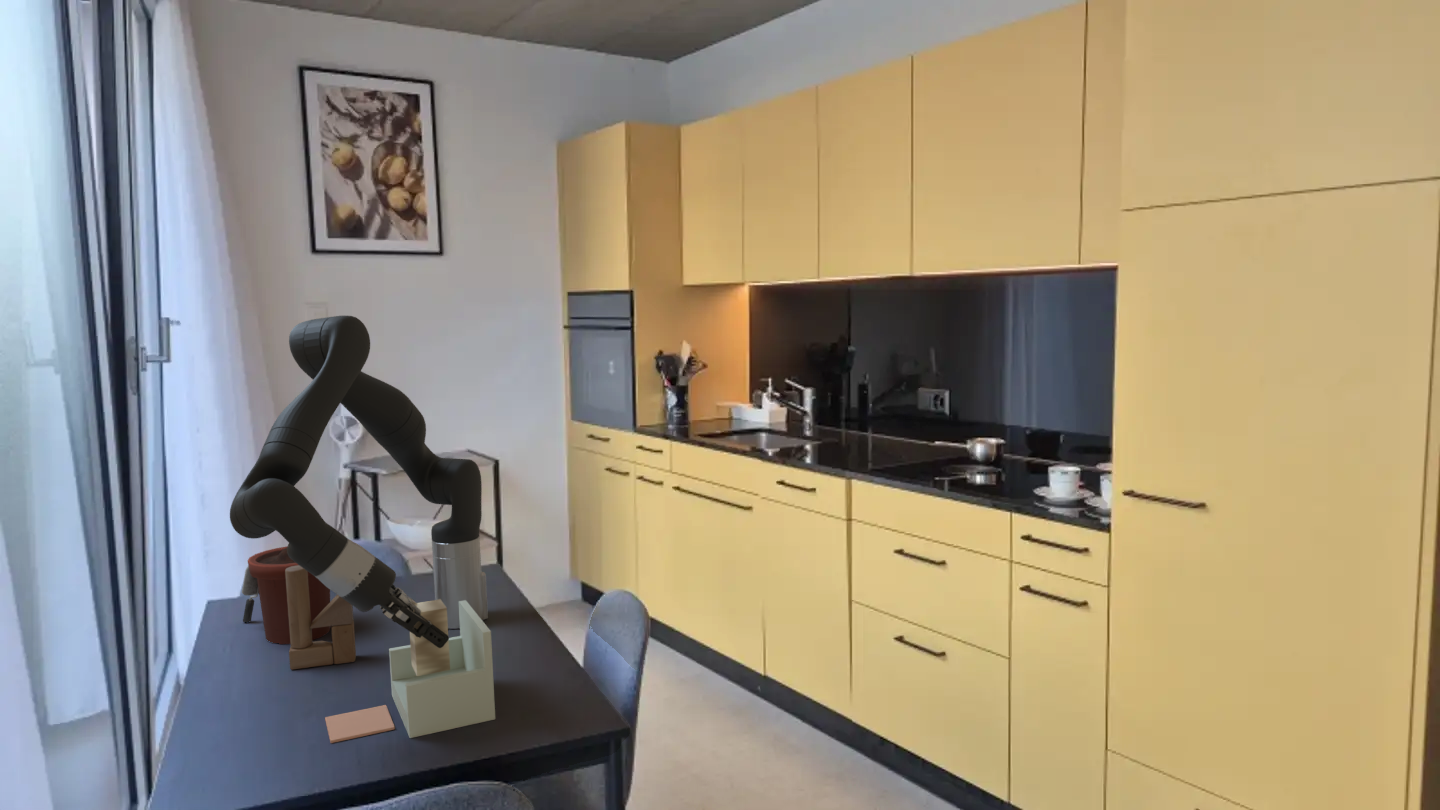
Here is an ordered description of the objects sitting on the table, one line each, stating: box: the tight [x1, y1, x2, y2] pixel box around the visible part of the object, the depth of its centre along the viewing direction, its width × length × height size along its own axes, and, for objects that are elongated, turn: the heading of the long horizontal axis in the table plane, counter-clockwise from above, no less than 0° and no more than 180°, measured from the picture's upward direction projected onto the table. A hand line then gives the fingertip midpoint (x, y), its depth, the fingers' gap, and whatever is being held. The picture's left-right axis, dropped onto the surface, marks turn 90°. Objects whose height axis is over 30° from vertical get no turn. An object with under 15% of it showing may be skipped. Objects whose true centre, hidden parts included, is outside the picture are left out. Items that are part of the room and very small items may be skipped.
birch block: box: [409, 599, 450, 676], centre depth 148 cm, size 5×5×10 cm
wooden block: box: [285, 565, 357, 671], centre depth 169 cm, size 4×11×18 cm, turn 108°
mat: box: [324, 704, 396, 744], centre depth 144 cm, size 9×9×1 cm
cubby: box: [388, 600, 496, 739], centre depth 149 cm, size 13×17×14 cm
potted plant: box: [241, 545, 331, 645], centre depth 186 cm, size 18×22×25 cm
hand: (441, 636), depth 149 cm, fingers closed on birch block, 5 cm apart
